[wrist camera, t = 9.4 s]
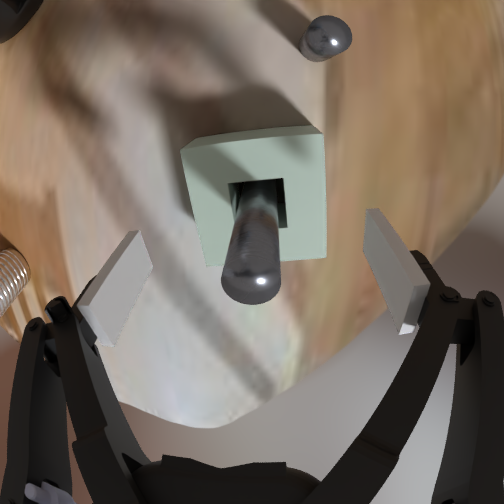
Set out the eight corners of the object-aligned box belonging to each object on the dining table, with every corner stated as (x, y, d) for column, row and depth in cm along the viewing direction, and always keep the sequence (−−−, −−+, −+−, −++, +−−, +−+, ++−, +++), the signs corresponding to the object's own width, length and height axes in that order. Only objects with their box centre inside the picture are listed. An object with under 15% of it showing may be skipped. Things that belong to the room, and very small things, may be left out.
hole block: (196, 138, 23) (179, 149, 19) (312, 125, 22) (323, 133, 18) (215, 237, 28) (206, 266, 24) (317, 229, 27) (326, 257, 23)
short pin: (297, 32, 18) (305, 15, 13) (330, 32, 17) (349, 16, 12) (301, 62, 19) (311, 53, 14) (334, 61, 19) (354, 54, 14)
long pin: (242, 171, 25) (215, 259, 13) (274, 168, 24) (278, 255, 13) (246, 200, 26) (226, 305, 14) (277, 197, 26) (282, 302, 14)
